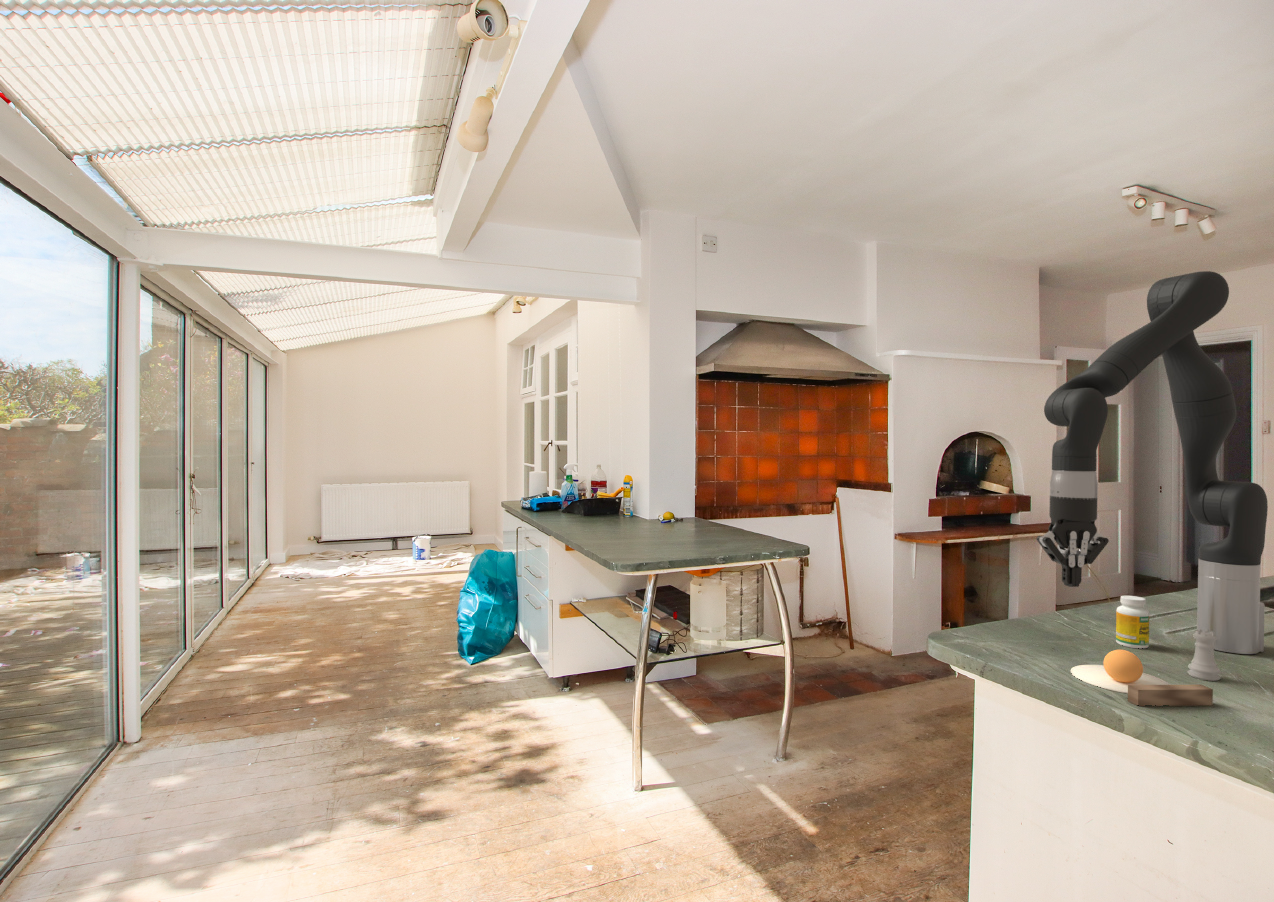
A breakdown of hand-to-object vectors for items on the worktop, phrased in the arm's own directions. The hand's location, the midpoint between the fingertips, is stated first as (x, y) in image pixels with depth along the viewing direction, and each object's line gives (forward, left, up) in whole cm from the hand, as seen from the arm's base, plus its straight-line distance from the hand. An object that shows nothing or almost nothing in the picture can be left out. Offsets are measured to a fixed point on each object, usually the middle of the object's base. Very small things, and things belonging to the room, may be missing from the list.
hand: (1071, 585), depth 124 cm
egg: (0, +13, -11) cm, 17 cm away
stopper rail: (0, +22, -14) cm, 26 cm away
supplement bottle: (-18, -7, -14) cm, 24 cm away
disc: (0, +12, -14) cm, 18 cm away
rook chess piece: (-16, +11, -14) cm, 24 cm away
